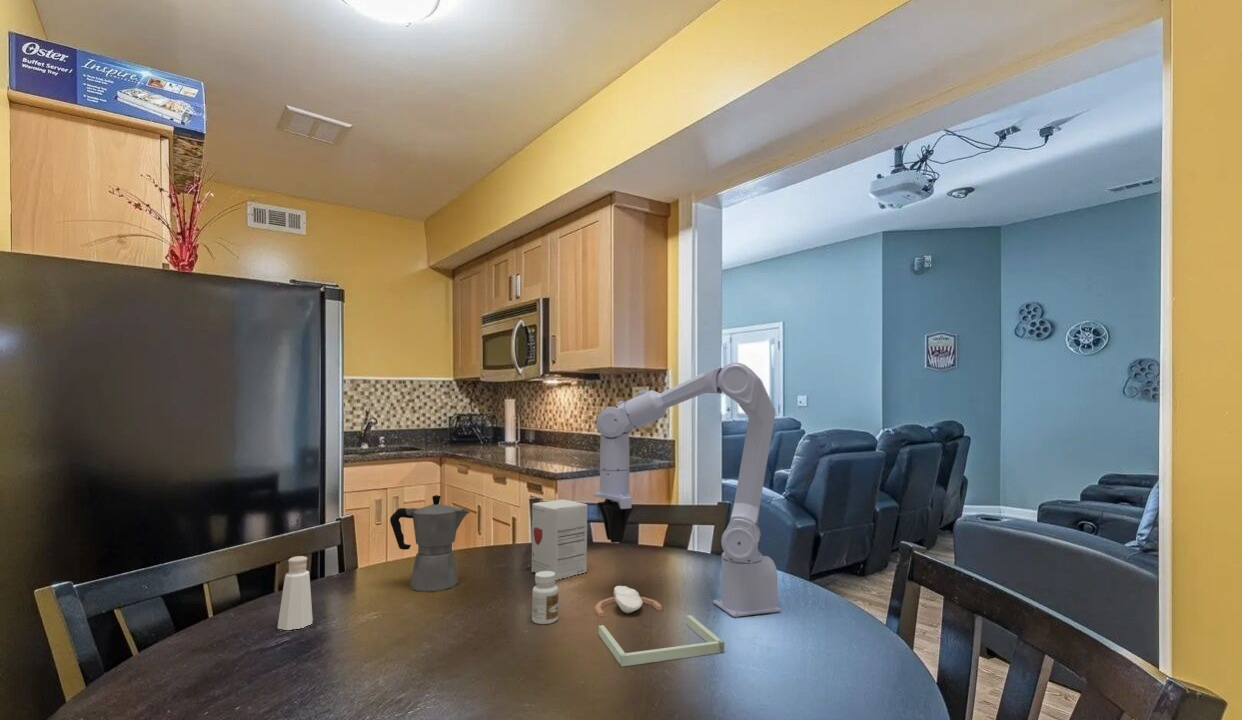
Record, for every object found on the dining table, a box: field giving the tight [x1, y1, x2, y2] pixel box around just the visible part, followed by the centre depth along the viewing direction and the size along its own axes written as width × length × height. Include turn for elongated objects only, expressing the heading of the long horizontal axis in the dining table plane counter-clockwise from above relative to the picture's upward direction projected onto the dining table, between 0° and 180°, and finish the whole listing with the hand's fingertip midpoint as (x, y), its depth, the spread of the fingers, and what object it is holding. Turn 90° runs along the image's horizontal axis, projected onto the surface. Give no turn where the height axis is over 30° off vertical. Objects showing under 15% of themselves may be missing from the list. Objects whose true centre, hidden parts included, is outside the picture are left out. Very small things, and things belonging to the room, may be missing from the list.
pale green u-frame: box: [598, 614, 725, 667], centre depth 91 cm, size 16×12×1 cm
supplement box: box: [531, 498, 588, 581], centre depth 130 cm, size 9×9×15 cm
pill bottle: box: [531, 571, 559, 625], centre depth 101 cm, size 4×4×8 cm
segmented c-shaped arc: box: [594, 596, 663, 618], centre depth 108 cm, size 12×7×1 cm, turn 108°
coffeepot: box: [389, 495, 470, 593], centre depth 121 cm, size 15×9×18 cm, turn 102°
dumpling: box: [613, 585, 644, 614], centre depth 106 cm, size 7×5×4 cm
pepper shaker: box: [276, 555, 313, 630], centre depth 99 cm, size 5×5×11 cm
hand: (614, 540), depth 114 cm, fingers closed
